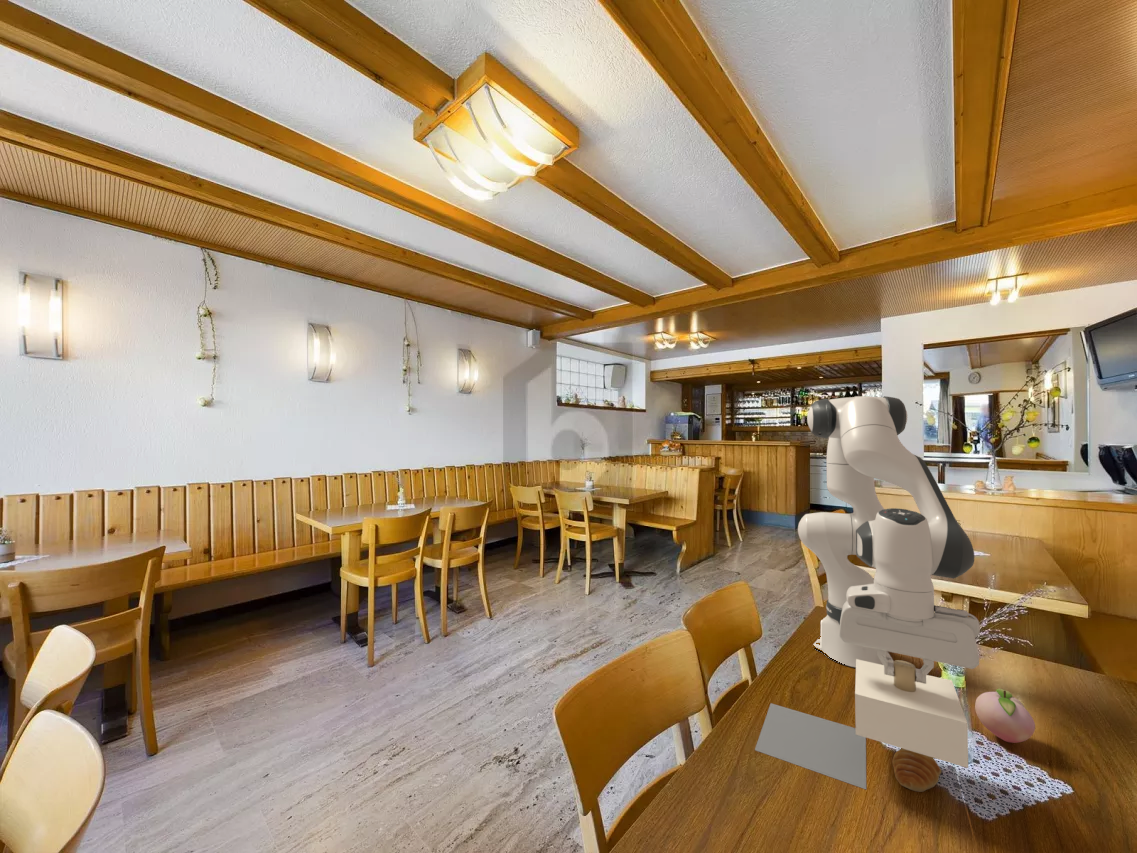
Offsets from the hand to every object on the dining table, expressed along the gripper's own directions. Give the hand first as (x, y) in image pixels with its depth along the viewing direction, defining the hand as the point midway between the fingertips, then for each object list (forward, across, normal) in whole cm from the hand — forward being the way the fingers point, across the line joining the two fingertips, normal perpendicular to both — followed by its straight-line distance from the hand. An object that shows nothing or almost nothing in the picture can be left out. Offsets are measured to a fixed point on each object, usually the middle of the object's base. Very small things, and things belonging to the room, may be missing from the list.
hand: (904, 677), depth 82 cm
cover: (+9, 0, 0) cm, 9 cm away
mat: (+17, +15, 0) cm, 23 cm away
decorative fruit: (+17, -17, -21) cm, 32 cm away
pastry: (+18, -2, 0) cm, 18 cm away
